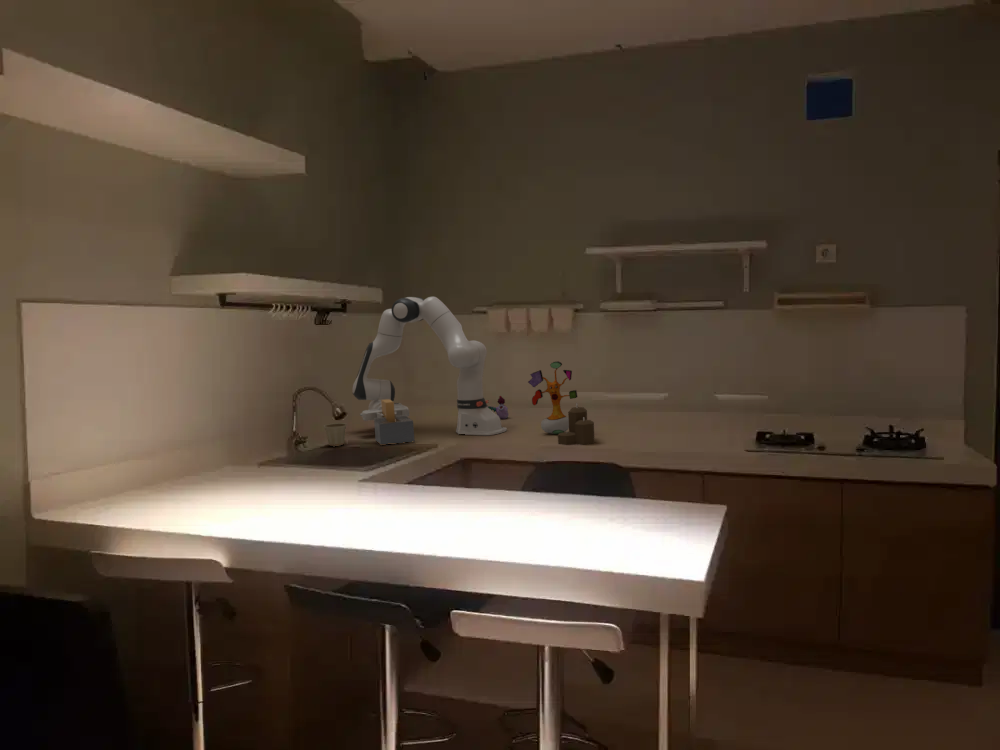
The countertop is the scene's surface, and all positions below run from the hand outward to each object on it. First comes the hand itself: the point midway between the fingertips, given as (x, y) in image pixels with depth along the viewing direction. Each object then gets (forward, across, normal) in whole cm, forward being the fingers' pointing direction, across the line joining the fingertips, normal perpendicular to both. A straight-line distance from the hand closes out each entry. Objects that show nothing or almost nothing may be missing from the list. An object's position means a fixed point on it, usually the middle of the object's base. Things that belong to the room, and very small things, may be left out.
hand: (388, 416), depth 358 cm
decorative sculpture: (+31, +63, +10) cm, 71 cm away
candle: (+52, +64, +10) cm, 83 cm away
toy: (-20, +52, +10) cm, 57 cm away
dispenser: (+10, 0, +10) cm, 13 cm away
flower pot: (+3, -23, +10) cm, 25 cm away
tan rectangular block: (-1, 0, +8) cm, 8 cm away
